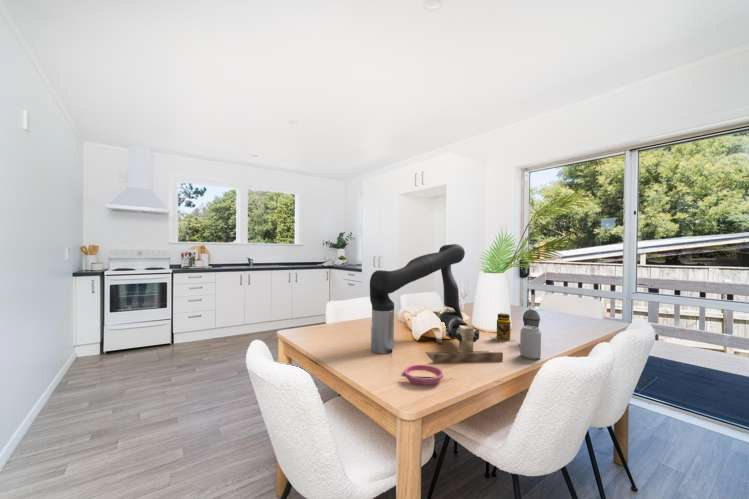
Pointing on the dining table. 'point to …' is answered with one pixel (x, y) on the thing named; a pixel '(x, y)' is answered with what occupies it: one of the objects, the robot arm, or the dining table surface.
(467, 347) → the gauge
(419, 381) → the purple round open piece
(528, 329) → the grey square jar
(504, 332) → the condiment
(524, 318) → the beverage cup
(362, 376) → the dining table surface
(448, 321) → the robot arm
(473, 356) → the board
